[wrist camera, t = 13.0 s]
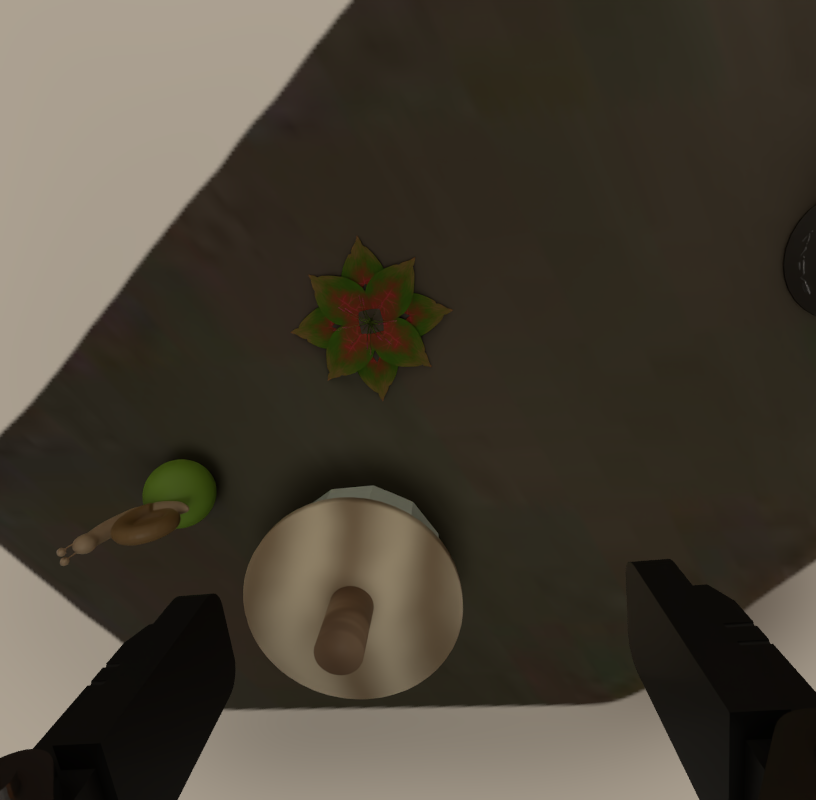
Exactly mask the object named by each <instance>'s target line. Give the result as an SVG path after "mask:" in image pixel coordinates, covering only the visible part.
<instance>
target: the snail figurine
mask: <svg viewBox="0 0 816 800" xmlns="http://www.w3.org/2000/svg"><path fill="white" fill-rule="evenodd" d="M215 500H216V484H215V481H214V478H213V476H212V475H211V473H210V472H209V471H208V470H207V469H206V468H205V467H204V466H203V465H201V464H199V463H197V462H195V461H191V460H185V459H179V460H173V461H169V462H167V463H164V464H162V465H161V466H159V467H158V468H156V469H155V470H154V471H153V472H152V473H151V474H150V476H149V477H148V479H147V481H146V483H145V485H144V488H143V504H144V505H142V506H140V507H136V508H132V509H130V510H127V511H125V512H123V513H121V514H119V515H117V516H115V517H113V518H111V519H109V520H107V521H105V522H103V523H101V524H99V525H98V526H96V527H95V528H94V529H92V530H91V531H90V532H88V533H86V534H83V535H81V536H79V537H77V538H76V539H75V540H74V542H73V543H72V544H71V545H69V546H68V547H70V546H72V548H73V550H74V551H75V553H74V554H72V555H71V556H70V557H72V556H73V555H75V554H77V553H78V554H87V553H89V552H91V551H92V550H94V549H95V547H96V546H97V545H99V544H101V543H103V542H105V541H107V540H108V539H110V538H112V539H113V540H114V541H115V542H116V543H118V544H121V545H139V544H144V543H148V542H151V541H154V540H157V539H159V538H162V537H164V536H166V535H168V534H169V533H171V532H172V531H174V530H175V529H176V528H186V527H189V526H192V525H194V524H196V523H198V522H200V521H201V520H202V519H204V518H205V517H206V516H207V515H208V513H209V512H210V511H211V509H212V507H213V505H214V503H215ZM68 547H66V548H59V549H58V550H57V555H58V556H60V557H61V556H64V555H65V554H66V549H67V548H68ZM70 557H68V558H67V557H63V558H62V559H61V560H60V564H61V565H62V566H66V565H67V564H69V561H70V560H69V558H70Z"/></svg>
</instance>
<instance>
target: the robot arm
mask: <svg viewBox="0 0 816 800" xmlns="http://www.w3.org/2000/svg"><path fill="white" fill-rule="evenodd" d="M784 271H785V279H786V282H787V285H788V289H789V291H790V292H791V294H792V296H793V297H794V299H795V301H796V302H797V303H798V304H799V305H800V306H802V307H803V308H804V309H805V310H806V311H808V312H810V313H811V314H813V315H815V316H816V205H815V206H814V207H813V208H812V209H810V210H809V211H808V212H807V213H806V215H805V216H804V217H803V218H802V219H801V220H800V222H799V223H798V224H797V226H796V228H795V230H794V231H793V233H792V235H791V237H790V240H789V242H788V245H787V248H786V253H785V260H784ZM626 592H627V617H628V637H629V644H630V650H631V654H632V658H633V661H634V664H635V667H636V670H637V672H638V674H639V676H640V678H641V680H642V682H643V684H644V687H645V689H646V691H647V693H648V695H649V697H650V699H651V701H652V703H653V705H654V707H655V709H656V711H657V713H658V715H659V717H660V719H661V721H662V724H663V726H664V728H665V730H666V732H667V734H668V736H669V738H670V740H671V742H672V744H673V746H674V748H675V750H676V752H677V754H678V756H679V759H680V761H681V763H682V765H683V767H684V769H685V771H686V773H687V775H688V777H689V779H690V781H691V783H692V785H693V787H694V789H695V791H696V794H697V796H698V798H699V800H816V692H815V691H814V690H813V689H812V687H811V686H810V685H809V684H808V683H807V682H806V681H805V679H804V678H803V677H802V676H801V675H800V674H799V673H798V672H797V670H796V669H795V668H794V667H793V666H792V665H791V664H790V663H789V661H788V660H787V659H786V658H785V657H784V656H783V655H782V654H781V652H780V651H779V650H778V649H777V648H776V647H775V646H774V645H773V644H770V642H769V639H768V638H767V637H766V636H765V634H764V633H763V632H762V631H761V630H760V629H759V628H758V627H757V626H754V624H753V621H752V620H751V619H750V618H749V616H748V615H747V614H746V613H745V612H744V611H743V610H742V608H741V607H740V606H739V605H738V604H737V603H736V602H735V601H734V600H732V599H731V598H729V597H727V596H726V595H724V594H722V593H721V592H719V591H717V590H716V589H714V588H712V587H711V586H709V585H695V586H693V585H692V584H691V583H690V582H689V580H688V579H687V578H686V577H685V575H684V574H683V573H682V572H681V570H680V569H679V568H678V567H677V565H676V564H675V563H674V562H673V561H672V560H671V559H662V560H649V561H637V562H628V564H627V566H626ZM106 664H107V665H106V668H102V669H101V671H100V672H99V673H98V674H97V675H96V676H95V678H94V679H93V680H92V681H91V685H90V686H87V687H86V688H85V689H84V690H83V691H82V692H81V694H80V695H79V696H78V697H77V698H76V699H75V701H74V702H73V703H72V704H71V705H70V706H69V708H68V709H67V710H66V711H65V712H64V713H63V714H62V716H61V717H60V718H59V719H58V720H57V722H56V723H55V724H54V725H53V726H52V727H51V728H50V730H49V731H48V732H47V733H46V734H45V736H44V737H43V738H42V739H41V740H40V741H39V742H38V743H37V745H36V746H35V747H34V748H33V749H29V750H28V749H27V750H23V751H18V752H15V753H12V754H9V755H6V756H4V757H2V758H0V800H178V798H179V796H180V794H181V792H182V790H183V788H184V786H185V784H186V782H187V780H188V778H189V776H190V774H191V772H192V770H193V768H194V766H195V764H196V762H197V760H198V758H199V756H200V754H201V752H202V750H203V748H204V746H205V744H206V742H207V740H208V738H209V736H210V734H211V732H212V730H213V728H214V726H215V725H216V722H217V721H218V718H219V717H220V715H221V713H222V711H223V709H224V707H225V705H226V703H227V701H228V699H229V697H230V695H231V692H232V689H233V685H234V680H235V659H234V654H233V650H232V645H231V641H230V637H229V632H228V628H227V624H226V619H225V615H224V611H223V606H222V603H221V600H220V598H219V597H218V596H217V595H216V594H202V595H189V596H179V597H176V598H175V599H174V600H173V601H172V602H171V603H170V604H169V605H168V607H167V608H166V609H165V610H164V611H163V613H162V614H161V615H160V616H159V617H158V619H157V620H156V621H155V622H154V623H153V624H149V625H148V626H147V627H145V628H144V629H143V630H141V631H140V632H138V633H137V634H136V635H134V636H133V637H132V638H130V639H129V640H127V641H126V642H125V643H124V644H123V645H122V646H121V647H120V649H119V650H118V651H117V652H116V653H115V654H114V655H113V657H112V658H111V659H110V660H109V661H108V662H107V663H106Z"/></svg>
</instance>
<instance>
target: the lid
mask: <svg viewBox="0 0 816 800" xmlns="http://www.w3.org/2000/svg"><path fill="white" fill-rule="evenodd" d="M243 602H244V609H245V615H246V618H247V621H248V625H249V627H250V630H251V632H252V634H253V636H254V638H255V640H256V642H257V643H258V645H259V647H260V648H261V650H262V651H263V652H264V653H265V655H266V656H267V657H268V658H269V660H270V661H271V662H272V663H273V664H274V665H275V666H276V667H277V668H278V669H280V670H281V671H282V672H284V673H285V674H286V675H287V676H289V677H290V678H292V679H293V680H295V681H297V682H298V683H300V684H302V685H304V686H306V687H308V688H310V689H312V690H315V691H318V692H321V693H324V694H326V695H331V696H335V697H340V698H349V699H372V698H381V697H385V696H390V695H394V694H397V693H399V692H402V691H405V690H407V689H409V688H411V687H413V686H415V685H417V684H419V683H420V682H422V681H423V680H425V679H426V678H428V677H429V676H430V675H431V674H432V673H433V672H435V671H436V670H437V669H438V668H439V667H440V665H441V664H442V663H443V662H444V661H445V660H446V658H447V657H448V655H449V654H450V652H451V650H452V649H453V647H454V645H455V642H456V640H457V638H458V635H459V631H460V627H461V624H462V615H463V601H462V587H461V582H460V577H459V574H458V571H457V568H456V565H455V563H454V561H453V559H452V557H451V555H450V553H449V551H448V550H447V549H446V547H445V546H444V544H443V543H442V541H441V540H440V539H439V538H438V537H437V536H436V535H435V534H434V532H433V531H432V530H431V529H429V528H428V527H427V526H426V525H425V524H424V523H422V522H421V521H420V520H418V519H417V518H415V517H414V516H412V515H411V514H409V513H407V512H405V511H403V510H401V509H399V508H397V507H395V506H392V505H389V504H386V503H384V502H380V501H376V500H371V499H366V498H356V497H341V498H332V499H325V500H321V501H317V502H314V503H310V504H308V505H306V506H303V507H301V508H299V509H297V510H295V511H293V512H292V513H290V514H288V515H287V516H285V517H284V518H283V519H282V520H280V521H279V522H278V523H277V524H275V525H274V526H273V528H272V529H271V530H270V531H269V532H268V533H267V534H266V536H265V537H264V538H263V540H262V541H261V543H260V544H259V546H258V547H257V549H256V550H255V552H254V554H253V556H252V558H251V560H250V562H249V565H248V568H247V571H246V575H245V580H244V587H243Z"/></svg>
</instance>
